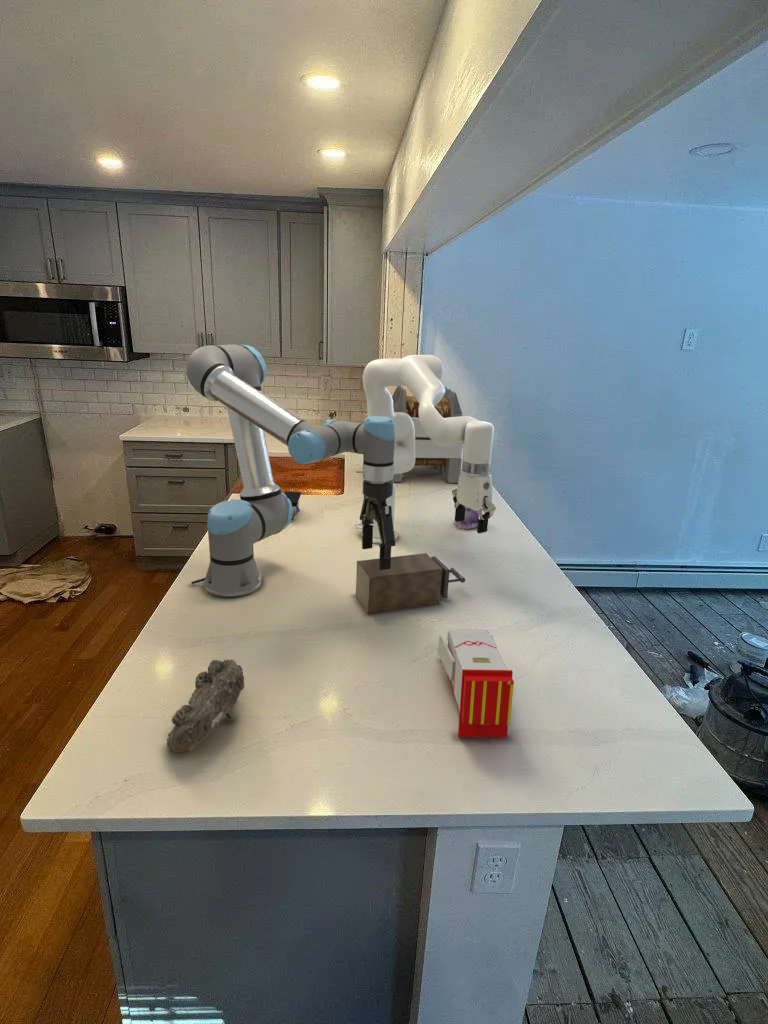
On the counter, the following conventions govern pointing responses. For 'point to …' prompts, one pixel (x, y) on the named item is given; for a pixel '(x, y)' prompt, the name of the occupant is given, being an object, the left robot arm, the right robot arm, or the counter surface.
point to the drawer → (447, 577)
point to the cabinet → (398, 583)
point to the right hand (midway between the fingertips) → (470, 526)
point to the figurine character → (294, 501)
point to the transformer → (424, 446)
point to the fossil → (206, 705)
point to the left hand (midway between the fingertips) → (375, 558)
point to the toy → (478, 682)
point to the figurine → (469, 519)
